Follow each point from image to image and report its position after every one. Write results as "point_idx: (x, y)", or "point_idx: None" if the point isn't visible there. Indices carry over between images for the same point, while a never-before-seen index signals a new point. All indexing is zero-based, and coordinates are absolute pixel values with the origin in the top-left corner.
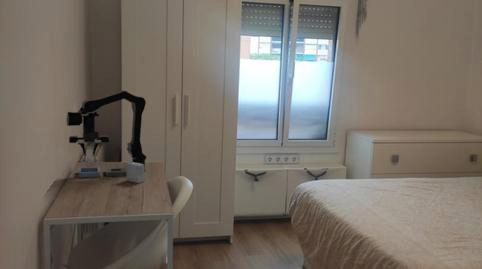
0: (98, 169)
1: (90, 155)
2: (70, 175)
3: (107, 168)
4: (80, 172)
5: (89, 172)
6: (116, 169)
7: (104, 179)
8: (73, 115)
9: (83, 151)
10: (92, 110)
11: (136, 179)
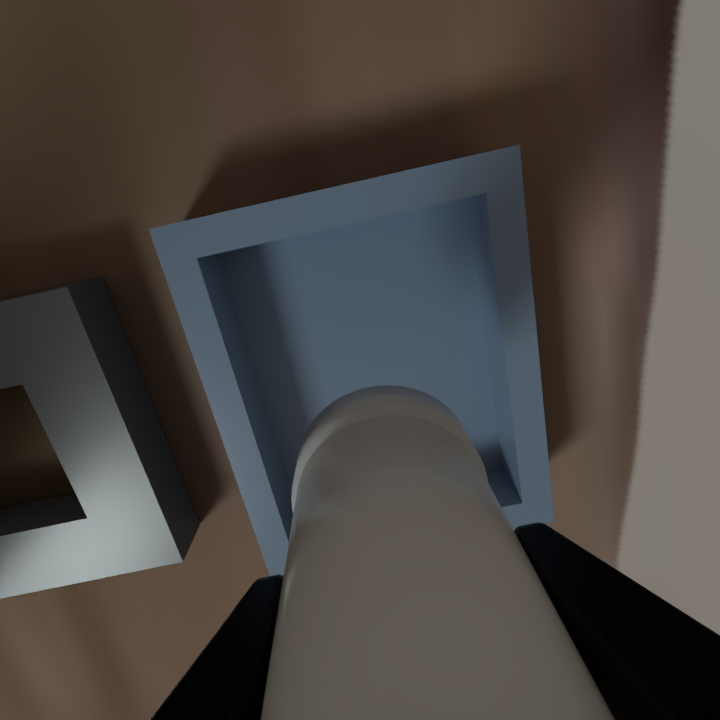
0: (237, 425)
1: (349, 508)
2: (621, 310)
3: (144, 540)
4: (493, 184)
5: (333, 193)
6: (13, 526)
7: (59, 57)
8: None
9: (714, 637)
10: None
11: None
